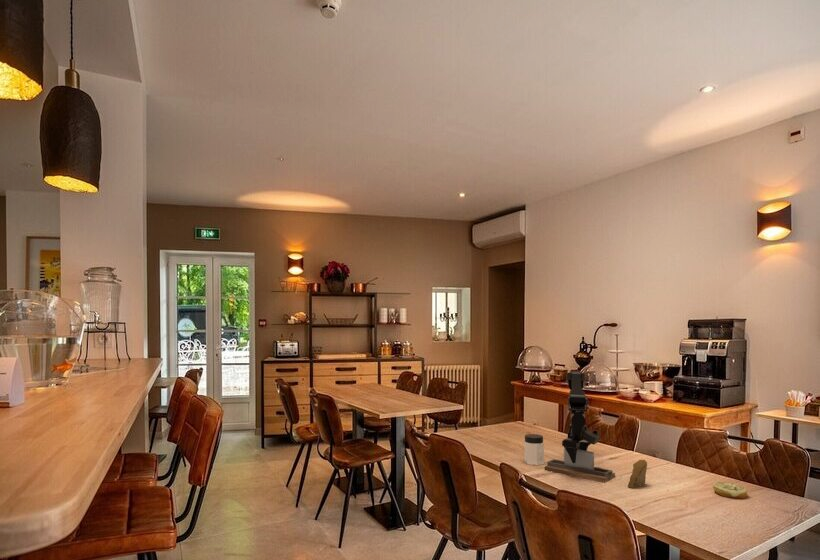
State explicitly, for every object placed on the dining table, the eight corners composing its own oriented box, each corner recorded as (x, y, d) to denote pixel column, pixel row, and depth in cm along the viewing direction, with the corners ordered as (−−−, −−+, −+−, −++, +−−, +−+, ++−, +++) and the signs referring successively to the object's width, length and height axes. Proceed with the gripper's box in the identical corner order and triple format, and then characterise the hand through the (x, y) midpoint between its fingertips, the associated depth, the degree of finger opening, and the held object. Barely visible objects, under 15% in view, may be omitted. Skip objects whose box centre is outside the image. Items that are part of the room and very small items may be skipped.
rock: (635, 485, 196) (657, 479, 199) (623, 463, 202) (645, 458, 204) (622, 495, 204) (644, 489, 207) (611, 474, 210) (632, 468, 212)
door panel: (567, 466, 224) (566, 447, 225) (594, 471, 216) (593, 452, 217) (564, 467, 222) (564, 448, 223) (591, 473, 214) (591, 453, 215)
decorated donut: (739, 502, 185) (738, 491, 186) (708, 493, 194) (707, 483, 195) (752, 496, 191) (752, 485, 192) (721, 488, 200) (721, 478, 200)
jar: (534, 466, 229) (533, 438, 230) (520, 462, 236) (520, 435, 237) (548, 463, 234) (547, 436, 235) (534, 459, 241) (534, 433, 242)
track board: (556, 464, 232) (556, 458, 232) (614, 476, 215) (614, 469, 215) (544, 470, 224) (544, 463, 224) (604, 482, 206) (604, 474, 207)
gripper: (587, 429, 209) (588, 469, 207) (605, 422, 222) (606, 460, 221) (561, 425, 216) (561, 464, 215) (580, 419, 230) (581, 455, 229)
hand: (578, 461), depth 220 cm, fingers open, 9 cm apart
